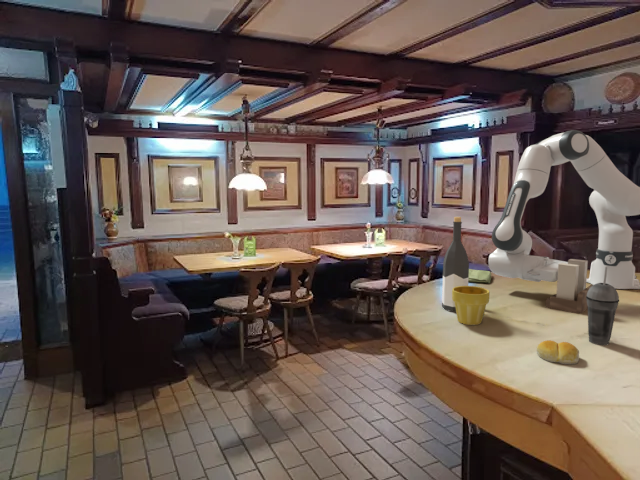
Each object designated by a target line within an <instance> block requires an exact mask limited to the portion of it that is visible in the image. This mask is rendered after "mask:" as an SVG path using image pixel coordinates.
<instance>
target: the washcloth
mask: <svg viewBox="0 0 640 480" xmlns="http://www.w3.org/2000/svg"><path fill="white" fill-rule="evenodd" d="M491 279H492V271H491V270H484V269H483V270H482V269H479V270H478V269H472V268H469V278H468V283H476V284H478V283H479V284H491Z"/></svg>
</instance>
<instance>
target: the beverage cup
mask: <svg viewBox="0 0 640 480" xmlns="http://www.w3.org/2000/svg"><path fill="white" fill-rule="evenodd" d="M606 276H607V267H605V273H604V281H603V283H597V284H595V285H593V284H592V285H593V286H592V287H590V289H589V290H588V292H587V296H586V298H587V305H588V309H587V330H588V331H587V333H588V334H587V336H588V342H589V343H591V344H594V345H598V346H608V345H610V341H611V337H612V334H613V333H612V332H613V328H614V321H615V317H616V311H617V309H618V306H619V302H620V299H619V297H620V296H619V293H618V291H617V290H616V289H615V288H614V287H613V286H611V285H609V284H607V283H606Z"/></svg>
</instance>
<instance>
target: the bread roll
mask: <svg viewBox="0 0 640 480" xmlns="http://www.w3.org/2000/svg"><path fill="white" fill-rule="evenodd" d="M536 354H537V356H538V357H540V358H541V359H543V360H544V361H546V362H551V363H555V364H556V363H559V364H562V365H575V364H578V363H579V359H580V350H579V349H578V348H577V347H576V346H575V344H572V343H570V342H566V341H562V342H556V341H554V340H551V339H550V340H543V341H541V342H540V343H539V344H537V347H536Z"/></svg>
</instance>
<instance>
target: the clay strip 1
mask: <svg viewBox="0 0 640 480" xmlns="http://www.w3.org/2000/svg"><path fill="white" fill-rule="evenodd" d="M578 273H579V265H574V264H566V263H560V264H558V279H557V282H556V293H555V294H556V298H562V299H568V300H574V301H576V300H577V286H578Z"/></svg>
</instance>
